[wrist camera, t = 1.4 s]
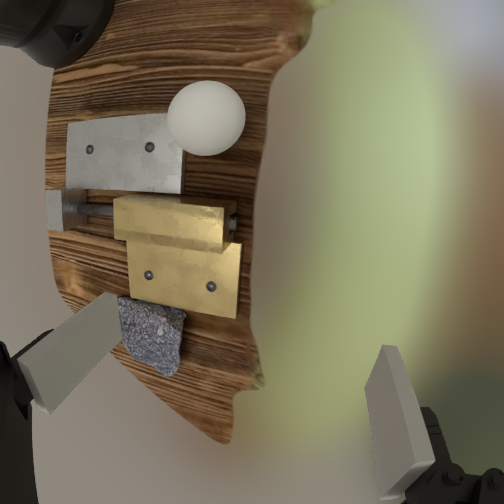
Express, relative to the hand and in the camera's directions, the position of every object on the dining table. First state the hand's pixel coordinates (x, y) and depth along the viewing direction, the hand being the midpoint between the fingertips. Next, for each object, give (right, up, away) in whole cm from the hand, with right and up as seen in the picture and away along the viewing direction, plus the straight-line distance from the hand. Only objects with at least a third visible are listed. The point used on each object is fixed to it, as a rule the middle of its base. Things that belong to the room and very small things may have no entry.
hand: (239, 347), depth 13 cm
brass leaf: (-7, +4, +20) cm, 22 cm away
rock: (-13, -6, +25) cm, 29 cm away
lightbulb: (-2, +17, +15) cm, 23 cm away
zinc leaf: (-12, +14, +18) cm, 26 cm away
